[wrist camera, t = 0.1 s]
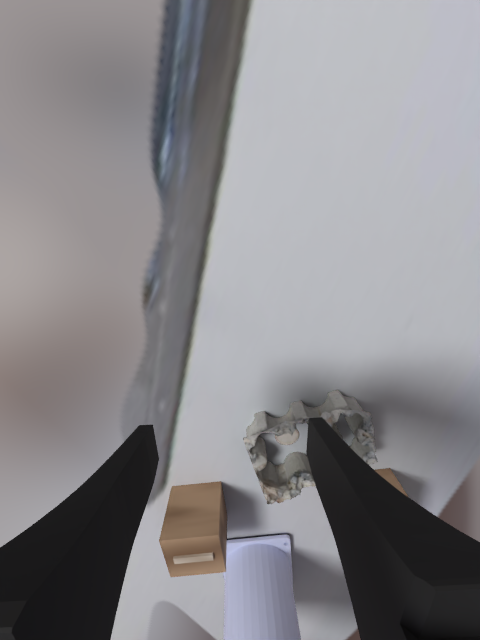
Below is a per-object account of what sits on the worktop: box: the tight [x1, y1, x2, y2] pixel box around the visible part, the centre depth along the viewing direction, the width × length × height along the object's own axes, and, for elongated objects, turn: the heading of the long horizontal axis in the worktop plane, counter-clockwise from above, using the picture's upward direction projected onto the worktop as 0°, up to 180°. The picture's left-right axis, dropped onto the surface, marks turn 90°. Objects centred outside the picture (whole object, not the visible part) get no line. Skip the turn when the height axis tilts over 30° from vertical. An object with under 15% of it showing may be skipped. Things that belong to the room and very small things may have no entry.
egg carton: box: [243, 390, 377, 504], centre depth 23 cm, size 11×8×4 cm
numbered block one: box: [159, 482, 227, 577], centre depth 25 cm, size 5×5×5 cm
